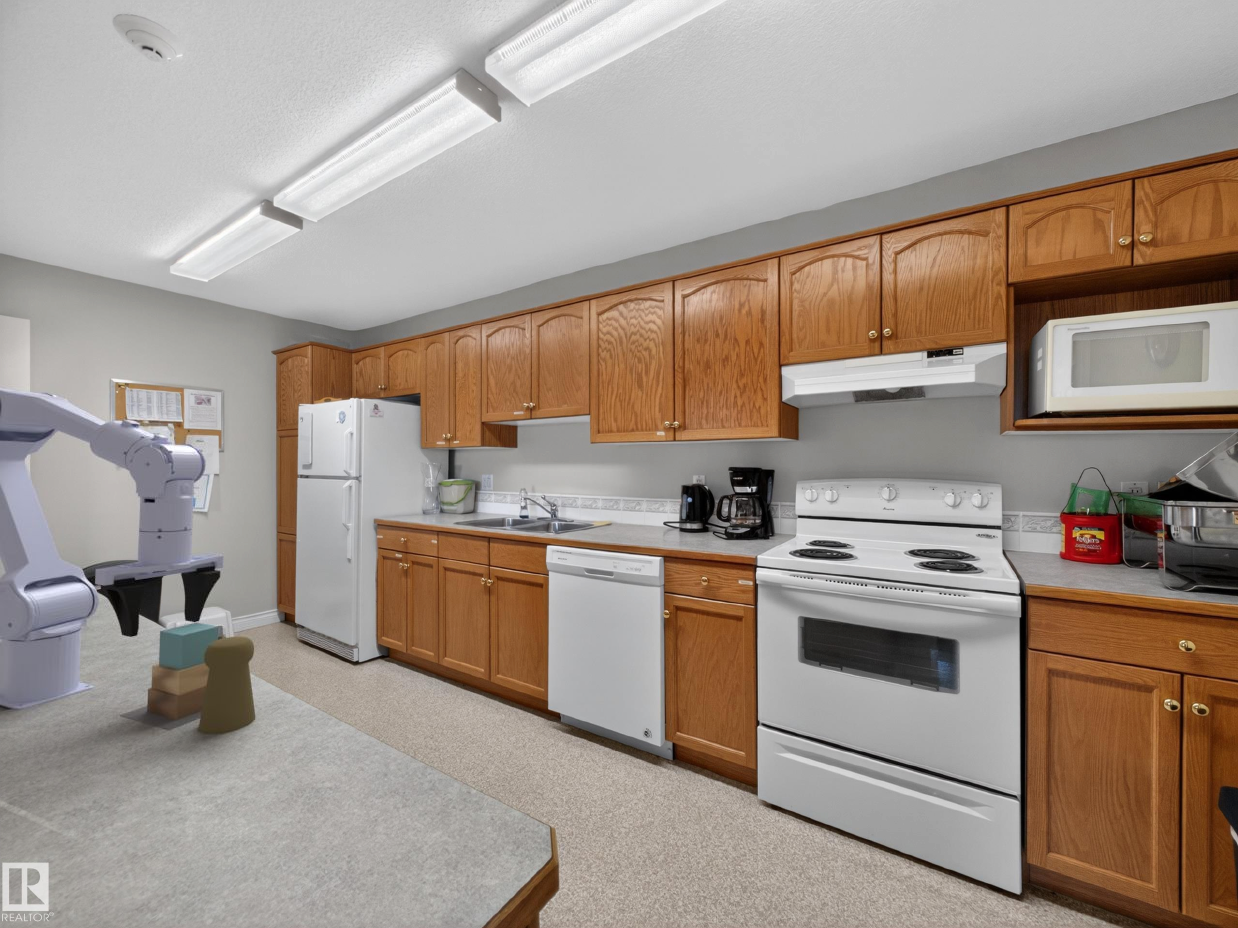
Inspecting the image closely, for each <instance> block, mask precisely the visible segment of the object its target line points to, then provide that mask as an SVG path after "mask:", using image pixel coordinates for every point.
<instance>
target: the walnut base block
mask: <svg viewBox="0 0 1238 928" xmlns="http://www.w3.org/2000/svg"><path fill="white" fill-rule="evenodd" d="M205 690H206V686H204V687H201V688H199V689H196V690H193V691H190V692H187V693H184V694H181V695H175V694H171V693H168V692H164V691H160V690H156V689H152V687H149V688H148V689H147V702H146V703H147V704H146V706H147V712H150V713H154V714H157V715H161V716H164V717H168V718H172V719H175V720H178V719H181V718H183V717H186V716H189V715H191V714H194V713H196V712H199V711H202V706H203V701H204V696H205Z"/></svg>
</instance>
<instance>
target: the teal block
mask: <svg viewBox="0 0 1238 928" xmlns="http://www.w3.org/2000/svg"><path fill="white" fill-rule="evenodd" d="M216 640H219V626H218V625H213V624H212V625H211V624H206V623H201V622H192V623H189V624H185V625H180V626H177V627H172V628H169V629H164V630H160V631H159V649H158V650H159V653H158V654H159V655H158V664H159V665H160V666H165V667H169V668H174V669H178V670H184V669H187V668H190V667H193V666H197V665H200V664H203V663H205V661H204V654H205V651H206V648H207V647H208V646H209V644H211V643H212V642H214V641H216Z"/></svg>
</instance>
